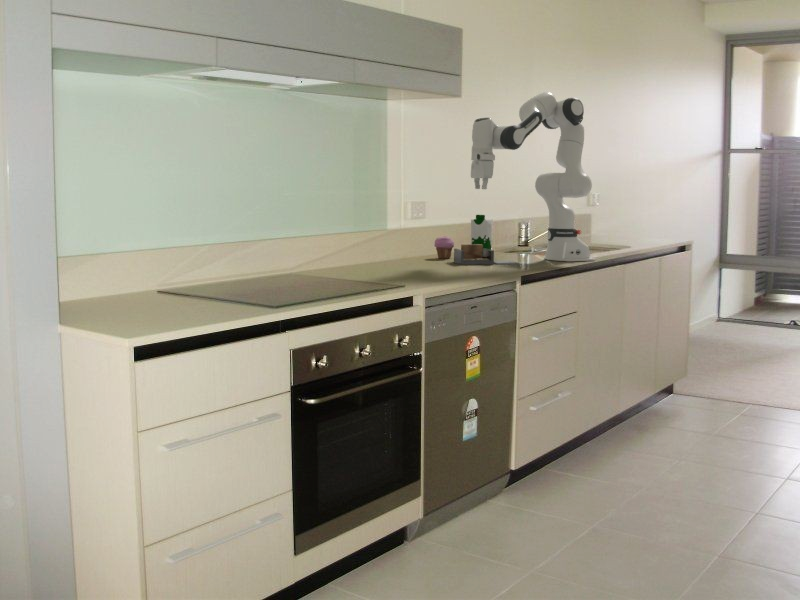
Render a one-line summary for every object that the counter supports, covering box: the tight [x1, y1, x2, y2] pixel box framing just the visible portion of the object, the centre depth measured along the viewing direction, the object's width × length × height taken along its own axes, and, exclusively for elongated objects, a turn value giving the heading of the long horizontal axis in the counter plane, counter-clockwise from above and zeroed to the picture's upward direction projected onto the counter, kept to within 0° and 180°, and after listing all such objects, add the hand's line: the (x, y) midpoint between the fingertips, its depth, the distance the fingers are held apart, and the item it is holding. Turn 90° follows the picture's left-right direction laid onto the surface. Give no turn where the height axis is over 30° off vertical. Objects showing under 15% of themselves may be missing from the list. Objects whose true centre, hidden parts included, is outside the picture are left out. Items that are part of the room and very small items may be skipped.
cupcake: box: [434, 236, 455, 260], centre depth 397 cm, size 9×9×10 cm
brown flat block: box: [460, 243, 483, 259], centre depth 380 cm, size 9×2×8 cm, turn 102°
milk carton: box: [470, 214, 494, 250], centre depth 395 cm, size 9×9×20 cm
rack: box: [453, 248, 495, 266], centre depth 377 cm, size 14×11×6 cm
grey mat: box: [494, 260, 520, 265], centre depth 380 cm, size 10×9×1 cm
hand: (480, 189), depth 376 cm, fingers open, 8 cm apart
